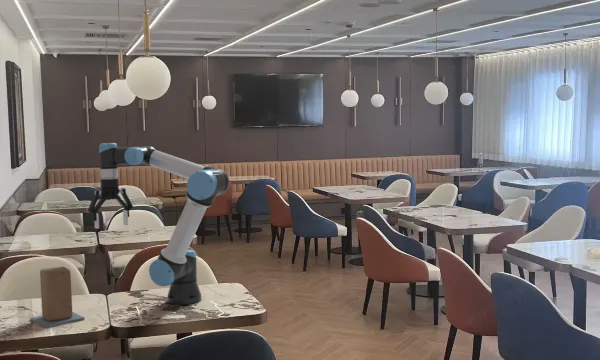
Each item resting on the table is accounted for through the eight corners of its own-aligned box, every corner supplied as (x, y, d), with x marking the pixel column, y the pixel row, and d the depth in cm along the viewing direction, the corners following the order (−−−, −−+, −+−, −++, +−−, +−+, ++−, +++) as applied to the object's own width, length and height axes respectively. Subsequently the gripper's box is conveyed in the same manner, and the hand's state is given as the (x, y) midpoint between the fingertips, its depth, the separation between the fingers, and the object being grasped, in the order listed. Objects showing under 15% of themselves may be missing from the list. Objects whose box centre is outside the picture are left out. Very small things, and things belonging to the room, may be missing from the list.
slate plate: (68, 312, 282) (68, 310, 282) (84, 319, 271) (84, 317, 271) (30, 320, 272) (30, 317, 272) (45, 328, 260) (45, 325, 260)
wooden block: (73, 318, 270) (71, 269, 268) (47, 322, 264) (45, 273, 263) (66, 312, 278) (64, 265, 277) (41, 316, 272) (39, 268, 271)
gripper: (131, 176, 301) (133, 222, 303) (78, 179, 284) (80, 228, 286) (139, 176, 296) (141, 224, 297) (85, 180, 279) (88, 230, 281)
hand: (111, 226), depth 292 cm, fingers open, 13 cm apart
